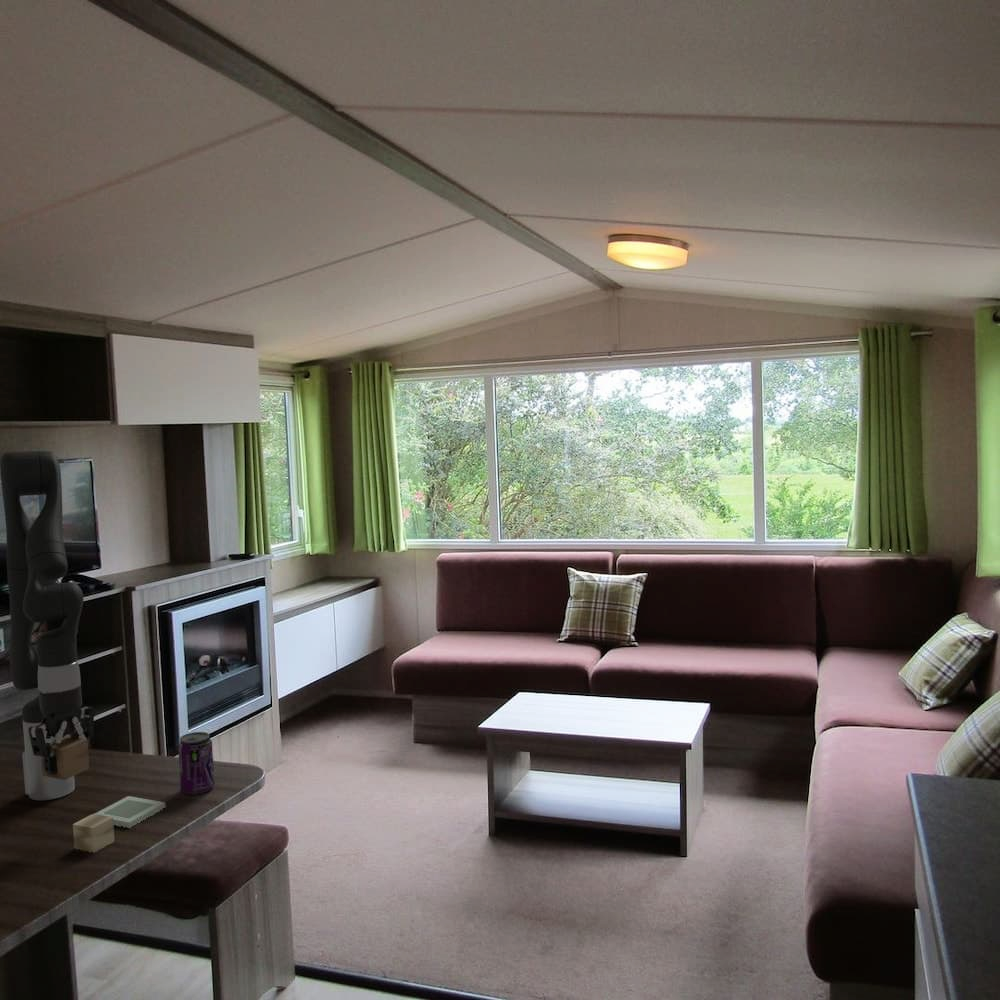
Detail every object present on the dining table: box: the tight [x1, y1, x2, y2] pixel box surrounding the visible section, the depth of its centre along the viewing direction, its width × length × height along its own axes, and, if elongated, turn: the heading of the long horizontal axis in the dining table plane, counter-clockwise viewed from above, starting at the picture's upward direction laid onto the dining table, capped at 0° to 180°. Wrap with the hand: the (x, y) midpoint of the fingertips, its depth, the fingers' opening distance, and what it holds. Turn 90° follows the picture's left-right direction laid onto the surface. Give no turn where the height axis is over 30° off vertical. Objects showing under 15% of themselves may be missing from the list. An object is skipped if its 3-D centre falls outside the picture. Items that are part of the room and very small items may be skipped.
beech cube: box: [72, 813, 115, 854], centre depth 181 cm, size 5×5×5 cm
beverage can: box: [177, 731, 216, 795], centre depth 206 cm, size 7×7×12 cm
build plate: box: [94, 795, 166, 829], centre depth 195 cm, size 10×10×1 cm
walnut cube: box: [41, 736, 90, 780], centre depth 186 cm, size 6×6×6 cm
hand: (65, 767), depth 186 cm, fingers closed on walnut cube, 6 cm apart
